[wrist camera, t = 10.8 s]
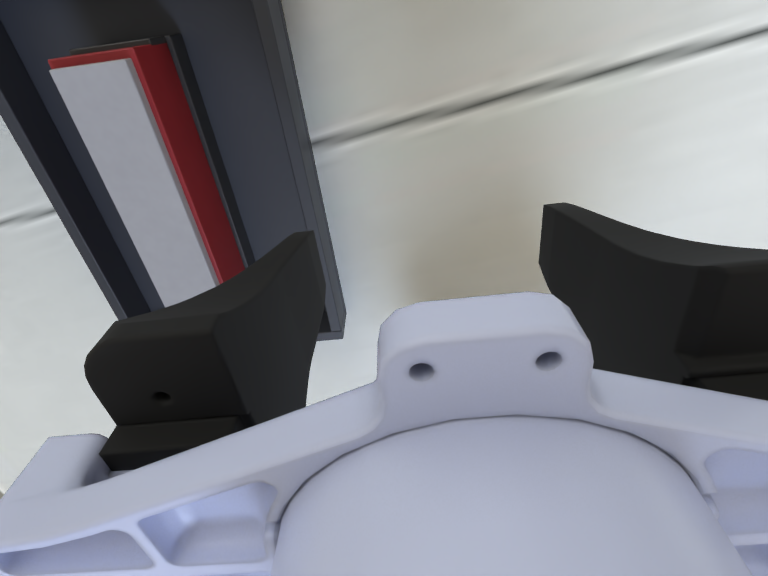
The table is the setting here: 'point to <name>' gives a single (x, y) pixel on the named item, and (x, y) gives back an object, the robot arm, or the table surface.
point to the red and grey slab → (157, 160)
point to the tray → (225, 112)
